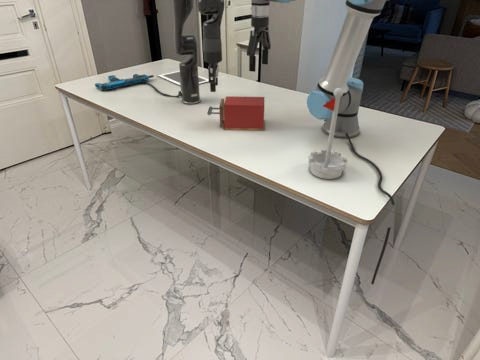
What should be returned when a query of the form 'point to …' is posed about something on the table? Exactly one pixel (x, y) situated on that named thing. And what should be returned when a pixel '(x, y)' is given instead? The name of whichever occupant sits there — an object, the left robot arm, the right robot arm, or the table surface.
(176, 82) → the tablet
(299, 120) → the table surface
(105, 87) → the submachine gun
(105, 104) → the table surface
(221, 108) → the drawer
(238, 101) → the cabinet
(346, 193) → the table surface
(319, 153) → the flag stand
